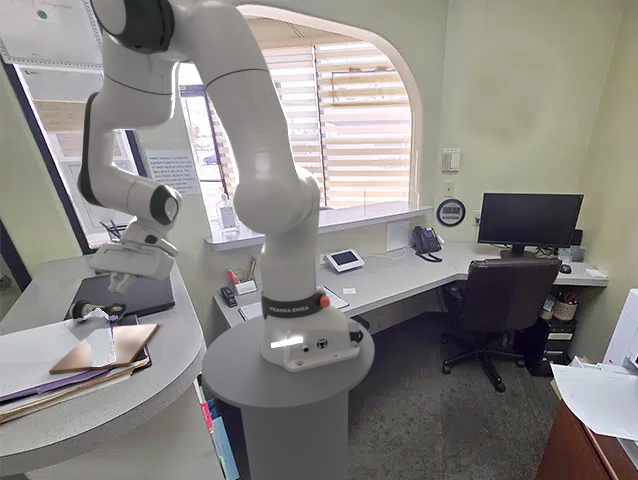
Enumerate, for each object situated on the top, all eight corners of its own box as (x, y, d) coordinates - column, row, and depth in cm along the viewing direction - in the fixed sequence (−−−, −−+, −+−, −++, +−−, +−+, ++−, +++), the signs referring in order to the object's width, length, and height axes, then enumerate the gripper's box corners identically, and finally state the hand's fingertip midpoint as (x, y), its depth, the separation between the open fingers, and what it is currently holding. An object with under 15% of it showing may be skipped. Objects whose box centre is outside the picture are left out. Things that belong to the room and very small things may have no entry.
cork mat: (159, 326, 76) (158, 323, 76) (129, 366, 62) (128, 362, 62) (96, 331, 73) (95, 328, 73) (49, 374, 59) (48, 371, 58)
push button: (111, 314, 74) (60, 311, 71) (115, 331, 76) (66, 329, 74) (125, 298, 79) (78, 295, 77) (129, 315, 82) (84, 312, 79)
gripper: (98, 232, 78) (67, 281, 73) (167, 239, 75) (140, 292, 69) (119, 244, 84) (93, 291, 79) (184, 252, 80) (161, 302, 75)
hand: (115, 292), depth 74 cm, fingers closed
